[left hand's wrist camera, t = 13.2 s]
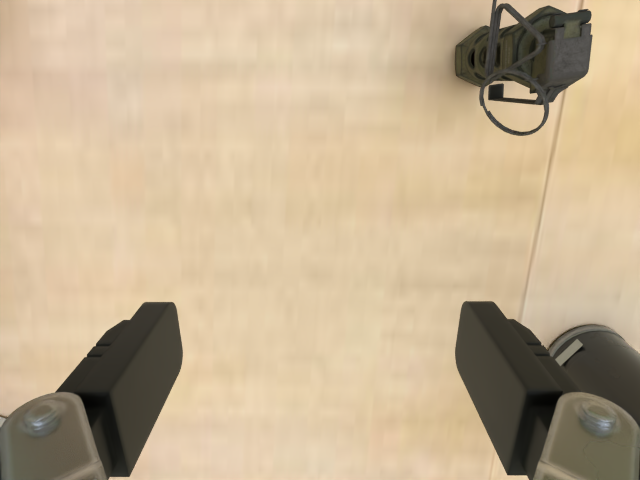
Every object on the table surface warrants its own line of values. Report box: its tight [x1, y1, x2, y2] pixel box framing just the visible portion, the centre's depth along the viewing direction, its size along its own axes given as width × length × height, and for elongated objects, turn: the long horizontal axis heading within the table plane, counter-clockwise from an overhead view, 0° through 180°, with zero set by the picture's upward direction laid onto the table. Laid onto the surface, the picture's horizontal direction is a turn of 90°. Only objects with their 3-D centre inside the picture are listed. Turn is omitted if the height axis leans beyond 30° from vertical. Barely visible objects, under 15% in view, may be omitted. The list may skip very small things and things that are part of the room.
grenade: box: [455, 0, 592, 136], centre depth 31 cm, size 9×6×15 cm, turn 7°
